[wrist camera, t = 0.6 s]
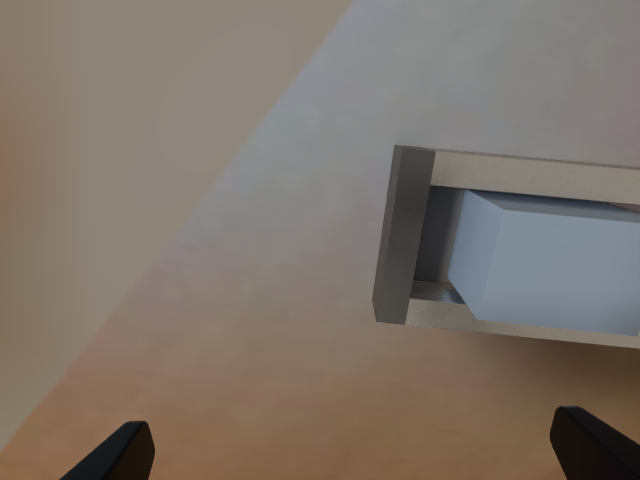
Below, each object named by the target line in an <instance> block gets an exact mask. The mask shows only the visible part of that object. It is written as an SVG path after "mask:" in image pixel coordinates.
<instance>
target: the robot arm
mask: <svg viewBox="0 0 640 480" xmlns="http://www.w3.org/2000/svg"><path fill="white" fill-rule="evenodd" d="M550 441H551V444H552V447H553V449H554V451H555V454H556V456H557V458H558V460H559V462H560V465H561V467H562V469H563V471H564V474H565V476H566V478H567V480H640V445H639V444H638V443H636V442H634V441H633V440H631V439H630V438H628V437H627V436H625V435H623V434H622V433H620V432H619V431H617V430H616V429H614V428H613V427H611V426H609V425H608V424H606V423H605V422H603V421H602V420H600V419H598V418H597V417H595V416H594V415H592V414H591V413H589V412H588V411H586V410H584V409H583V408H581V407H579V406H560V407H558V408H557V409H556V411H555V415H554V419H553V422H552V426H551V430H550ZM154 455H155V447H154V443H153V439H152V435H151V432H150V428H149V425H148V423H147V422H146V421H129V422H126V423H125V424H123V425H122V426H121V427H120V428H119V429H117V430H116V431H115V432H114V433H113V434H112V435H110V436H109V437H108V438H107V439H106V440H105V441H103V442H102V443H101V444H100V445H99V446H98V447H96V448H95V449H94V450H93V451H92V452H91V453H89V454H88V455H87V456H86V457H85V458H84V459H83V460H81V461H80V462H79V463H78V464H77V465H76V466H74V467H73V468H72V469H71V470H70V471H69V472H67V473H66V474H65V475H64V476H63V477H62V478H60V479H59V480H148V478H149V475H150V471H151V467H152V464H153V460H154Z"/></svg>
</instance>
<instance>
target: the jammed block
mask: <svg viewBox="0 0 640 480" xmlns="http://www.w3.org/2000/svg"><path fill="white" fill-rule="evenodd" d="M447 277H448V278H449V280H450V281H451V283H452V284H453V286H454V287H455V288H456V290H457V291H458V293H459V294H460V296H461V297H462V299H463V300H464V301H465V303H466V304H467V306H468V307H469V309H470V310H471V312H472V313H473V314H474V316H475V317H476V319H477V320H483V321H493V322H503V323H513V324H522V325H532V326H542V327H551V328H561V329H571V330H580V331H590V332H600V333H609V334H619V335H629V336H638V333H639V331H640V214H637V213H634V212H631V211H628V210H625V209H621V208H618V207H615V206H612V205H608V204H605V203H602V202H597V201H586V200H576V199H566V198H555V197H545V196H535V195H524V194H514V193H504V192H493V191H483V190H472V189H465V193H464V198H463V202H462V207H461V212H460V217H459V221H458V226H457V231H456V236H455V240H454V245H453V250H452V255H451V259H450V264H449V269H448V274H447Z"/></svg>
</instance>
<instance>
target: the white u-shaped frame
mask: <svg viewBox="0 0 640 480" xmlns="http://www.w3.org/2000/svg"><path fill="white" fill-rule="evenodd" d="M430 185H437V186H447V187H458V188H468V189H479V190H490V191H500V192H511V193H521V194H532V195H543V196H553V197H564V198H574V199H585V200H596V201H606V202H617V203H627V204H638V205H640V168H639V167H628V166H617V165H606V164H595V163H584V162H574V161H563V160H552V159H541V158H530V157H519V156H509V155H498V154H487V153H476V152H465V151H455V150H444V149H433V148H422V147H411V146H400V145H395V146H394V152H393V159H392V166H391V173H390V180H389V187H388V194H387V201H386V208H385V215H384V222H383V229H382V236H381V243H380V250H379V257H378V263H377V270H376V277H375V284H374V291H373V298H372V301H373V306H374V312H375V317H376V322H384V323H393V324H403V325H413V326H423V327H433V328H443V329H452V330H462V331H472V332H482V333H492V334H501V335H511V336H521V337H531V338H541V339H550V340H560V341H570V342H580V343H590V344H600V345H609V346H619V347H629V348H639V349H640V331H639V333H638V336H629V335H619V334H609V333H600V332H590V331H580V330H571V329H561V328H551V327H542V326H532V325H522V324H513V323H503V322H493V321H483V320H477V319H476V317H475V316H474V314H473V313H472V312H471V310H470V309H469V307H468V306H467V304H466V303H465V301H464V300H463V299H462V297H461V296H460V294H459V293H458V291H457V290H456V288H455V287H454V286H453V284H449V283H439V282H429V281H419V280H413V278H414V273H415V267H416V261H417V256H418V250H419V245H420V239H421V233H422V228H423V222H424V217H425V211H426V205H427V200H428V194H429V188H430Z"/></svg>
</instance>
